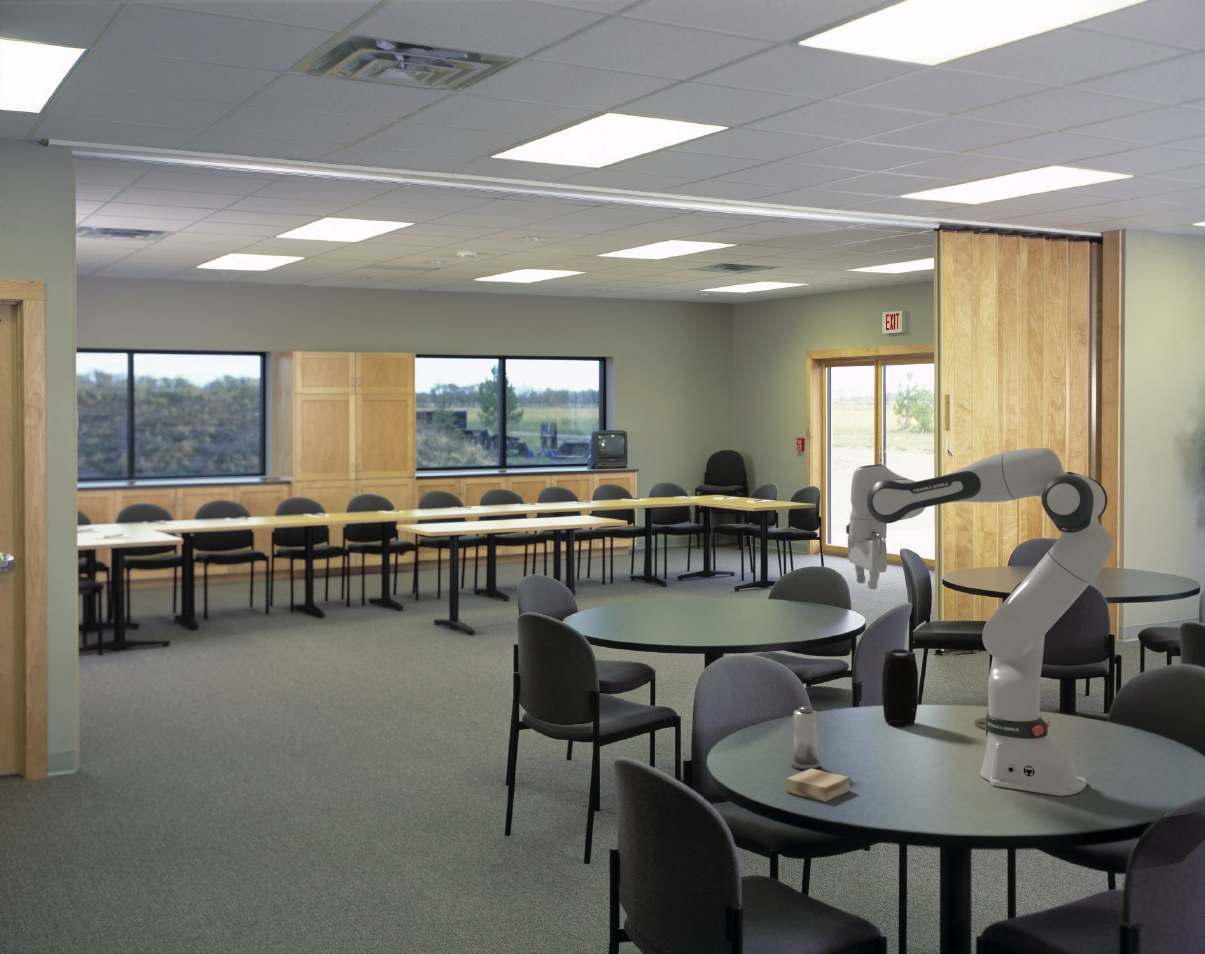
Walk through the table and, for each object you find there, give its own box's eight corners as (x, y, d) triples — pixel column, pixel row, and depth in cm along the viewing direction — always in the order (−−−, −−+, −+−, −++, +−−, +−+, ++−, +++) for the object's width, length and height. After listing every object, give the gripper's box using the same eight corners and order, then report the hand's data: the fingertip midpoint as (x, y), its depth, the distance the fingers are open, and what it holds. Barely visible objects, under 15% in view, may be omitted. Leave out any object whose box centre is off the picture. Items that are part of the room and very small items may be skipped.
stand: (849, 790, 253) (849, 777, 253) (825, 801, 246) (825, 787, 246) (810, 781, 260) (810, 768, 260) (786, 791, 253) (786, 778, 253)
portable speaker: (923, 726, 307) (924, 653, 306) (891, 728, 305) (892, 655, 304) (907, 718, 315) (907, 647, 314) (876, 720, 313) (876, 649, 312)
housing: (825, 766, 272) (825, 707, 271) (810, 772, 267) (810, 712, 266) (801, 760, 276) (801, 703, 276) (786, 766, 271) (786, 708, 271)
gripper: (894, 534, 272) (892, 592, 273) (868, 525, 293) (866, 579, 293) (868, 534, 272) (866, 592, 273) (843, 525, 292) (842, 579, 293)
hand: (866, 585), depth 283 cm, fingers open, 8 cm apart
